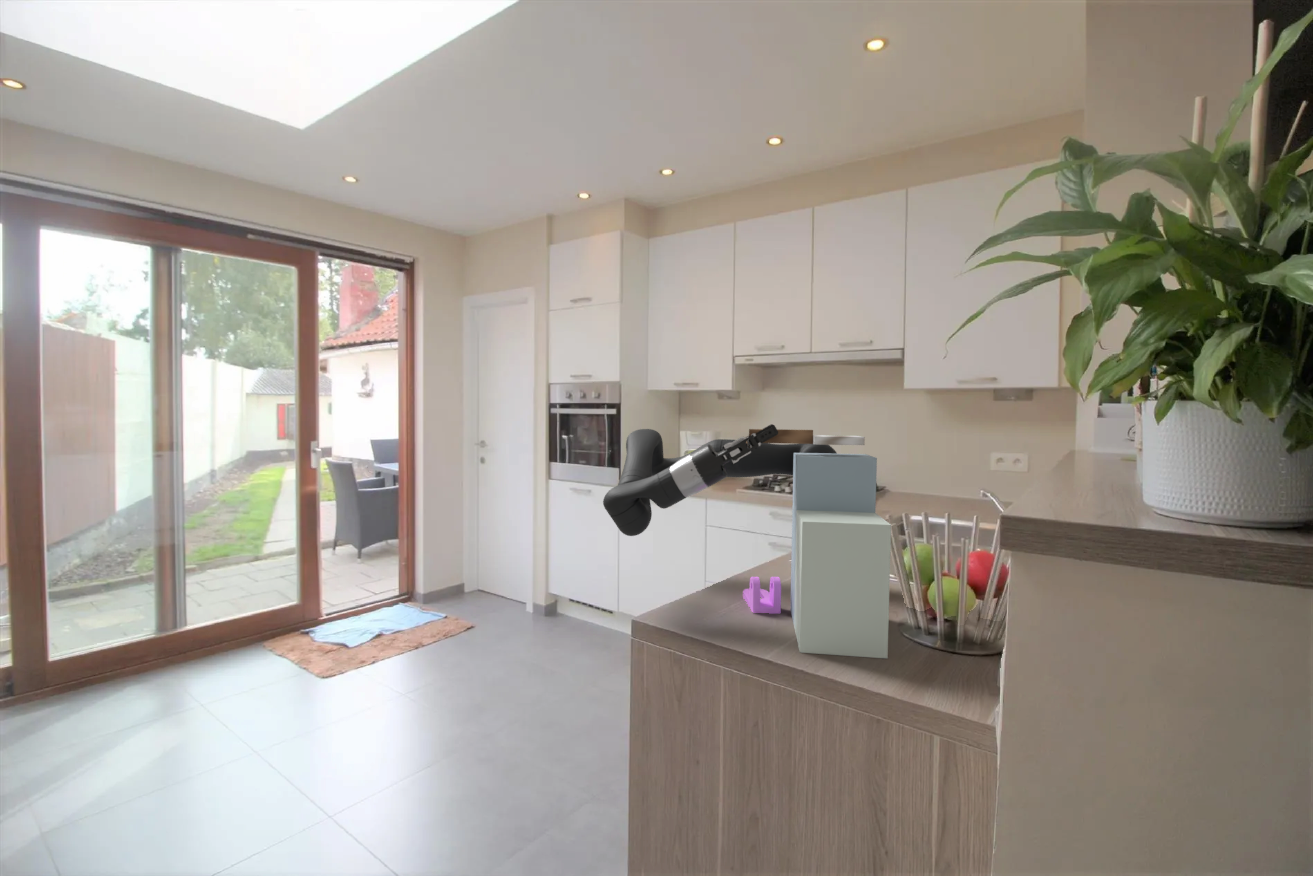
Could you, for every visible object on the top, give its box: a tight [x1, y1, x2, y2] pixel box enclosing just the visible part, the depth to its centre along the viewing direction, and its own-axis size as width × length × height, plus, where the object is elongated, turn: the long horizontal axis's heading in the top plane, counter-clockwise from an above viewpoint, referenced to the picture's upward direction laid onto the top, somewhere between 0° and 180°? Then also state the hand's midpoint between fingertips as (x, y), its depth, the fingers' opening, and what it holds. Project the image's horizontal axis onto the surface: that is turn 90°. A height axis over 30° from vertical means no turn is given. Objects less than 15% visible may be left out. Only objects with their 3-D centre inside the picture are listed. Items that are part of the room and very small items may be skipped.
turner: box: [748, 428, 866, 446], centre depth 114 cm, size 21×7×3 cm, turn 81°
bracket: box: [742, 576, 782, 614], centre depth 125 cm, size 13×6×7 cm, turn 3°
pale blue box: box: [789, 453, 892, 659], centre depth 108 cm, size 14×22×32 cm, turn 171°
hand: (775, 428), depth 115 cm, fingers closed on turner, 2 cm apart
